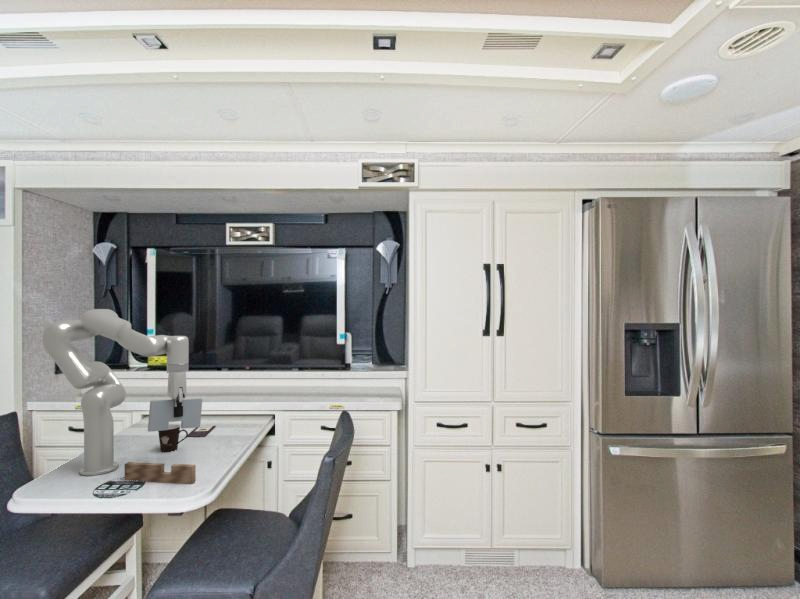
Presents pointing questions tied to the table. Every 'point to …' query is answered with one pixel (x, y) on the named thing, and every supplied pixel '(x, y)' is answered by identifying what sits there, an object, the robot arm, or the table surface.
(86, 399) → the robot arm
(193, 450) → the table surface
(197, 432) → the chocolate bar
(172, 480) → the walnut board
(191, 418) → the grey panel
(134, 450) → the table surface
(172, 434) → the coffee mug
